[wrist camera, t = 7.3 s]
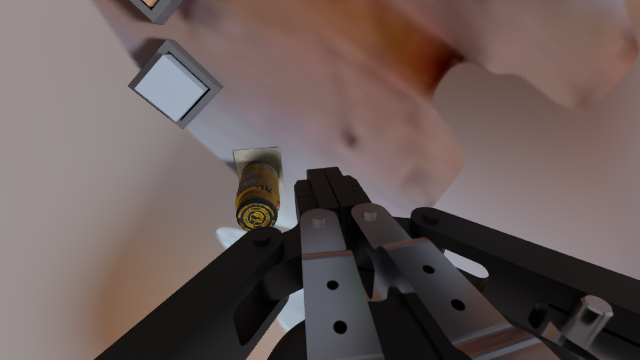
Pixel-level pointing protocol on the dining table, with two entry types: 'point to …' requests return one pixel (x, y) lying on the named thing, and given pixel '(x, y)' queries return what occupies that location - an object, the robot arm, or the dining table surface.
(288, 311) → the dining table surface
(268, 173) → the condiment
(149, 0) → the terracotta button
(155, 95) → the dusty blue button
